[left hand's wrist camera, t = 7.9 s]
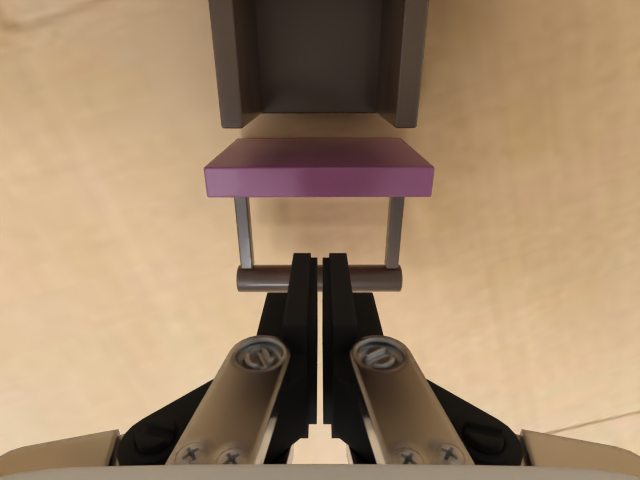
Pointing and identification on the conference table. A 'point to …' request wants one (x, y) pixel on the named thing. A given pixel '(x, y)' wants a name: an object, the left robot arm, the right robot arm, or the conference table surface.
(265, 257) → the conference table surface
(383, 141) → the drawer
